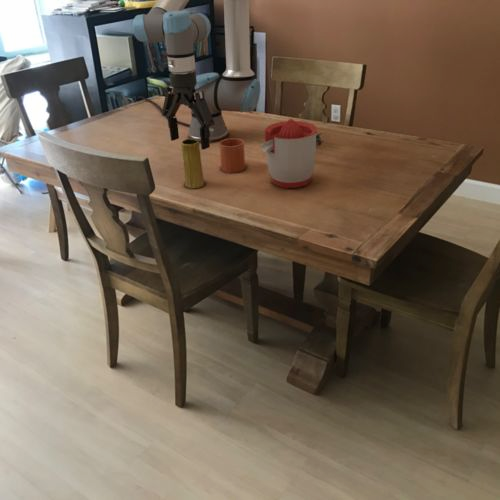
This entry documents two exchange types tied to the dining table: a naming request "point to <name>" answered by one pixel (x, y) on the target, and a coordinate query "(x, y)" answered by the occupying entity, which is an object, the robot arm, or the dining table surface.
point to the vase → (192, 163)
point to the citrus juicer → (290, 152)
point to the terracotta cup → (232, 155)
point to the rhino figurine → (318, 139)
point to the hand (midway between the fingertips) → (190, 143)
